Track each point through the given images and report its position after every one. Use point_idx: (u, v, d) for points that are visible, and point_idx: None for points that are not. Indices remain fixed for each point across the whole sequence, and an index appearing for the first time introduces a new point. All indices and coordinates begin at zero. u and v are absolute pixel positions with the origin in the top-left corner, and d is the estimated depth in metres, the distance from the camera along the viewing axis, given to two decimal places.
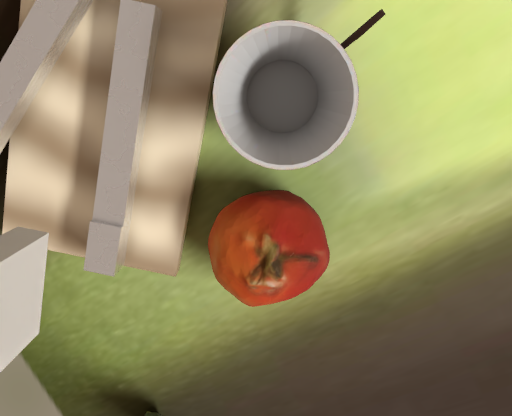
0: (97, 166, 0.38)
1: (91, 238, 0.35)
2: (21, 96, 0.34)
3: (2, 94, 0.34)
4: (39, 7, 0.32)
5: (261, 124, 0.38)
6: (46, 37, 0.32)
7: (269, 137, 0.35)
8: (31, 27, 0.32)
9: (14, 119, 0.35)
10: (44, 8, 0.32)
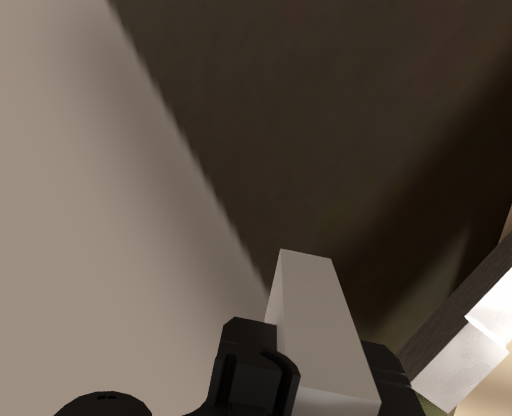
0: None
1: None
2: None
3: None
4: None
5: None
6: None
7: None
8: None
9: None
10: None
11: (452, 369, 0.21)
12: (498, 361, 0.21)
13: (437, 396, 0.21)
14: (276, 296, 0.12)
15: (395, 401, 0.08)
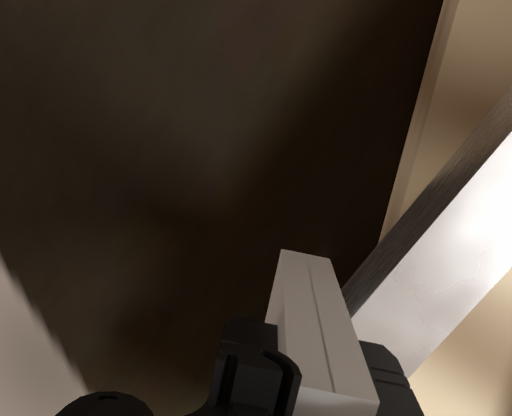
0: None
1: None
2: (508, 266, 0.12)
3: (459, 262, 0.12)
4: None
5: None
6: None
7: None
8: None
9: None
10: None
11: None
12: None
13: None
14: (277, 296, 0.12)
15: (393, 400, 0.08)
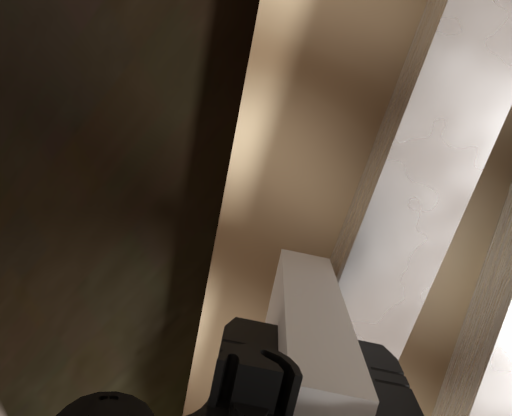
0: (407, 340, 0.16)
1: None
2: (431, 281, 0.13)
3: (382, 291, 0.13)
4: (453, 35, 0.11)
5: None
6: (484, 110, 0.11)
7: None
8: (438, 97, 0.11)
9: None
10: (469, 33, 0.11)
11: None
12: None
13: None
14: (277, 296, 0.12)
15: (393, 400, 0.08)
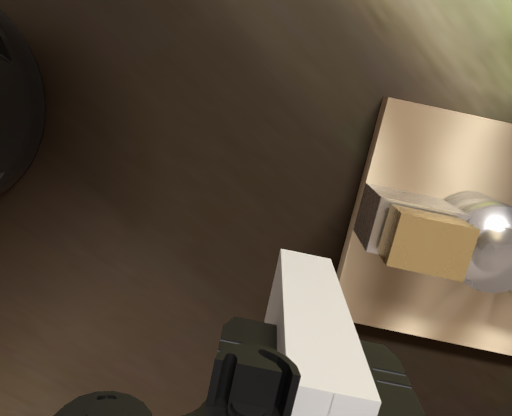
0: None
1: None
2: None
3: None
4: None
5: None
6: None
7: None
8: None
9: None
10: None
11: None
12: None
13: None
14: (276, 296, 0.12)
15: (395, 401, 0.08)
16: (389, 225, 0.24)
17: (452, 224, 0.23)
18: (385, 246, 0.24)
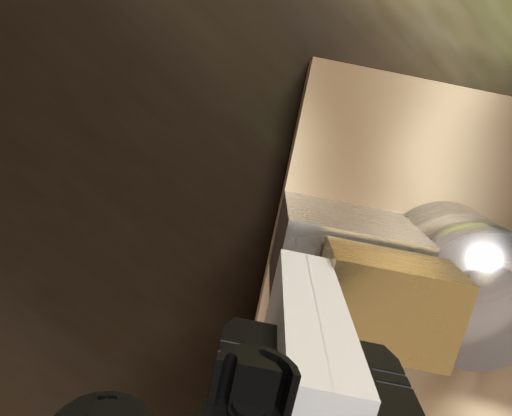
0: None
1: None
2: None
3: None
4: None
5: None
6: None
7: None
8: None
9: None
10: None
11: None
12: None
13: None
14: (276, 296, 0.12)
15: (395, 400, 0.08)
16: None
17: (429, 277, 0.13)
18: None
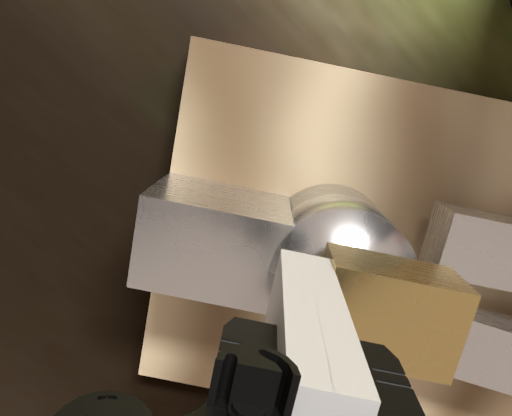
0: None
1: None
2: None
3: None
4: (488, 377, 0.18)
5: None
6: None
7: None
8: None
9: None
10: (488, 368, 0.17)
11: None
12: None
13: None
14: (276, 296, 0.12)
15: (395, 401, 0.08)
16: None
17: (430, 286, 0.13)
18: None
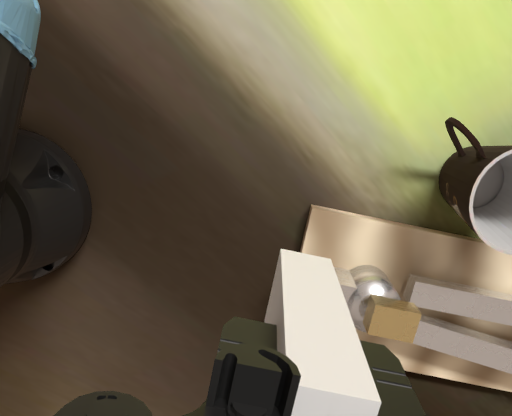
0: None
1: None
2: (496, 344, 0.44)
3: (498, 357, 0.44)
4: (430, 344, 0.44)
5: (493, 195, 0.45)
6: (449, 336, 0.44)
7: None
8: (445, 346, 0.44)
9: None
10: (430, 340, 0.44)
11: None
12: None
13: None
14: (276, 296, 0.12)
15: (395, 400, 0.08)
16: (369, 308, 0.41)
17: (405, 311, 0.39)
18: (367, 321, 0.41)
